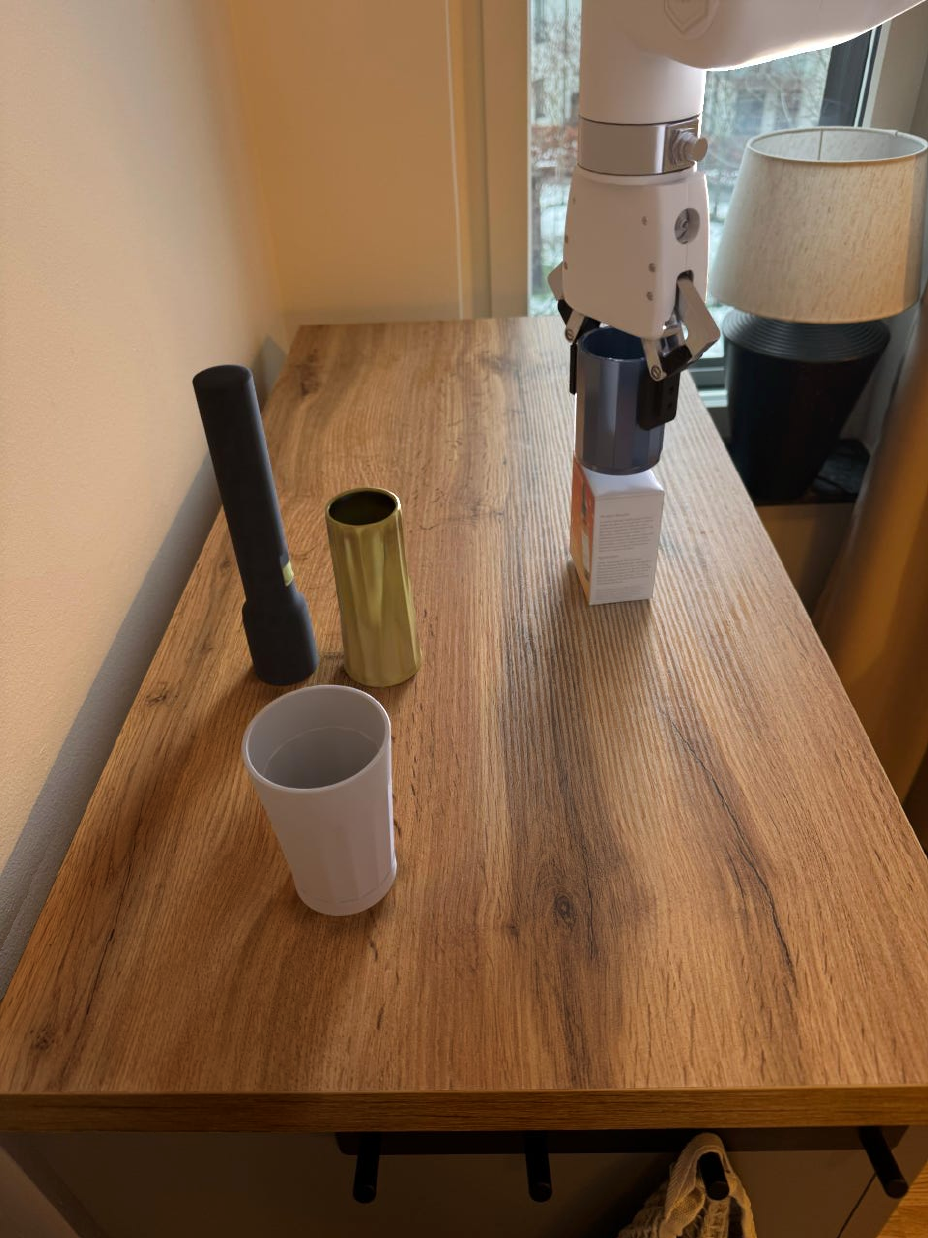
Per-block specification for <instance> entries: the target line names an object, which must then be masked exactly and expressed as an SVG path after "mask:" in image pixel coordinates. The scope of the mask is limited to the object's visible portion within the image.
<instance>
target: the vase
mask: <svg viewBox="0 0 928 1238" xmlns="http://www.w3.org/2000/svg"><path fill="white" fill-rule="evenodd" d="M324 519H325V523H326V524H325V525H326V533H327V539H328V546H329V553H330V558H331V564H332V565H331V566H332V569H333V576H334V583H335V590H336V597H337V603H338V604H337V605H338V611H339V617H340V618H339V620H340V621H339V622H340V629H341V641H342V646H343V666H344V670H345V672H346V674H347V675H348V676H349V678H350V679H351V680H353V681H354V682H356V683H359V684H360V685H363V686H365V687H369V688H388V687H392V686H396V685H399V684H403V683H404V682H406V681H408V680H409V679H411V678H412V677H413V676H414V675H415V674H416V673H418V671H419V670H420V667H421V666H422V663H423V651H422V648H421V643H420V638H419V632H418V624H417V618H416V611H415V605H414V600H413V594H412V586H411V580H410V576H409V575H410V574H409V569H408V561H407V549H406V544H405V533H404V523H403V512H402V507H401V503H400V499H399V498H398V496H396V494H394V493H393V492H391V491H389V490H387V489H384V488H380V487H375V486H374V487H373V486H361V487H354V488H351V489H348V490H344V491H342V492H340V493H338V494H336V495H334V496H332V497H331V498H330V499H329V500H328V501H327V502H326V504H325V507H324Z"/></svg>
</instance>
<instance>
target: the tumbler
mask: <svg viewBox="0 0 928 1238" xmlns="http://www.w3.org/2000/svg"><path fill="white" fill-rule="evenodd" d="M660 343H661V347H662V351H663V355H664V357H665V356H666V355H668V354H669V353H670V352H669V348H668V344H667V340H666V338H663V339H660ZM649 375H650V373H649V369H648V365H647V361H646V357H645V353H644V349H643V345H642V341H641V338H639V337H637V336H634V335H631V334H629V333H626V332H624V331H621V330H619V329H617V328H614V327H612V326H609V325H604V326H603V327H600V328H595V329H593V330H590V331H588V332H586V333H584V334H582V336H581V337H580V338H579V339H578V340H577V354H576V389H575V395H574V423H573V424H574V425H573V426H574V429H573V430H574V431H573V434H574V435H573V451H574V456H575V458H576V460H577V462H578V463H579V464H580V465H582V466H583V467H585V468H586V469H588V470H591V471H593V472H597V473H600V474H606V475H615V476H623V475H633V474H638V473H642V472H645V471H647V470H649V469H651V470H652V469H653V468H654V467H656V466H657V465H658V464H659V463H660V461H661V459H662V452H663V448H664V442H665V441H664V440H665V431H666V430H665V429H666V423H665V424H663V425H661V426H658V427H656V428H654V429H651V430H649V431H645V430H643V429H641V428H640V427H639V413H640V400H641V387H642V380H643V378H644V377H646V376H649Z"/></svg>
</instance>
